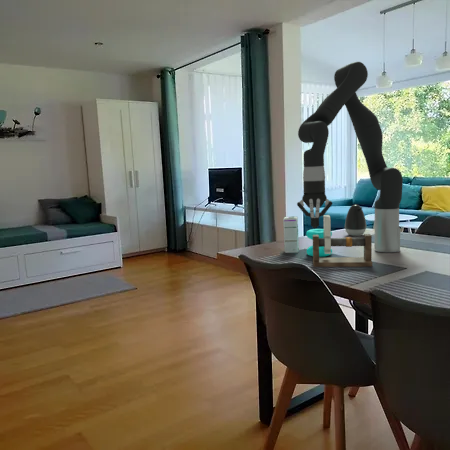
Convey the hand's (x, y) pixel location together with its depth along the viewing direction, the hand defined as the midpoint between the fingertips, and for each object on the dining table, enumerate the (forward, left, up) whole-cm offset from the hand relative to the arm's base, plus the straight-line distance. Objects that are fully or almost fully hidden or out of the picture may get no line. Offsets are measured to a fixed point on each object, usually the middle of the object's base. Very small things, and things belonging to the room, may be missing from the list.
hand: (314, 227), depth 155 cm
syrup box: (+9, -23, -14) cm, 28 cm away
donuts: (-2, -16, -14) cm, 21 cm away
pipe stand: (-9, 0, -13) cm, 16 cm away
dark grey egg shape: (-22, -61, -14) cm, 66 cm away
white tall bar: (-4, 0, -9) cm, 10 cm away
